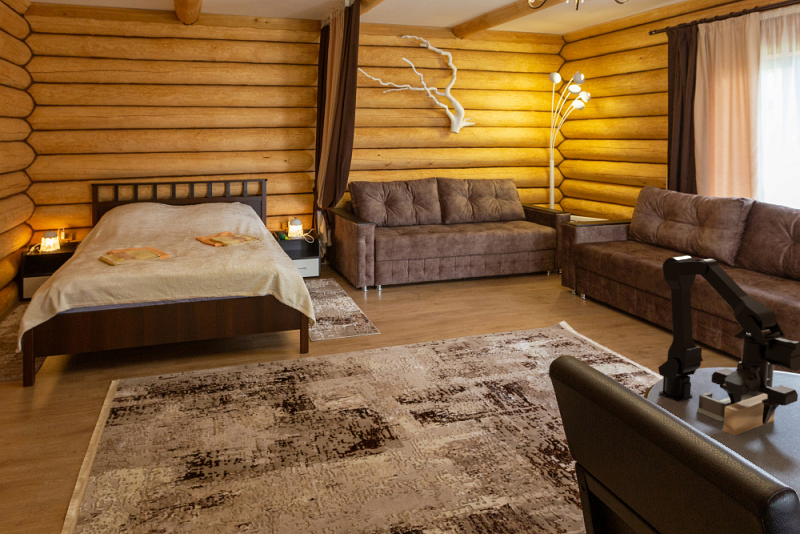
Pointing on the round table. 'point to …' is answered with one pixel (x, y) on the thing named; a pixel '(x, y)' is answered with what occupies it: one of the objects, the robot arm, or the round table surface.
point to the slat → (745, 415)
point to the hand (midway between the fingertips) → (750, 418)
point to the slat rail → (718, 404)
